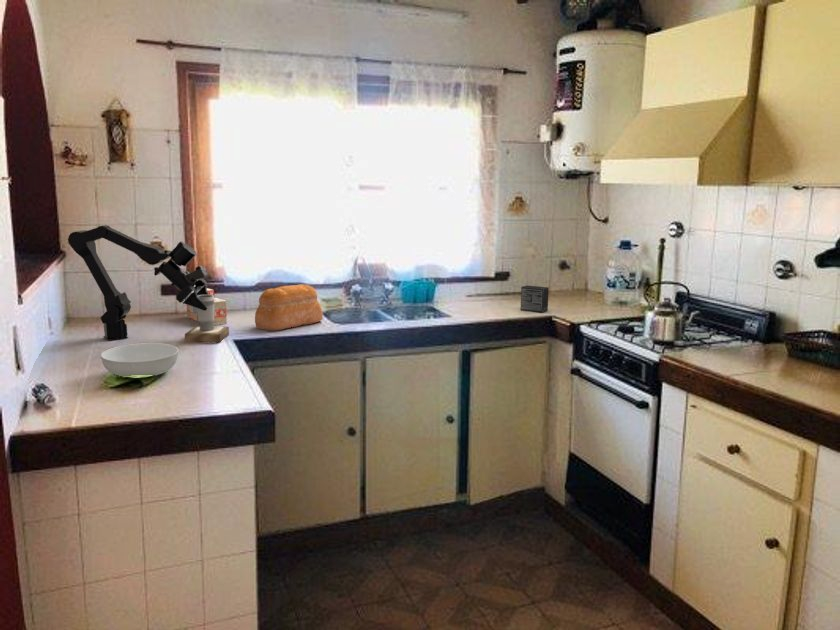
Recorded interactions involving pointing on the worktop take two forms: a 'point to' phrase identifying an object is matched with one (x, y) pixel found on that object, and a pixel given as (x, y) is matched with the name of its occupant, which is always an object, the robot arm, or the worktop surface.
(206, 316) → the cup
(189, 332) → the plinth
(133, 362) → the serving bowl
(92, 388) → the worktop surface
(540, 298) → the small box
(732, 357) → the worktop surface
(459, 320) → the worktop surface
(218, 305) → the stack of blocks
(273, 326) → the bread
